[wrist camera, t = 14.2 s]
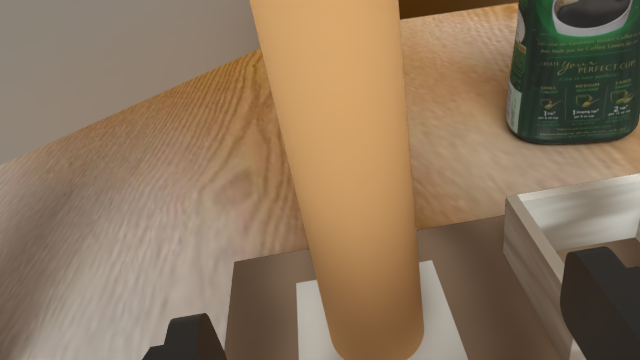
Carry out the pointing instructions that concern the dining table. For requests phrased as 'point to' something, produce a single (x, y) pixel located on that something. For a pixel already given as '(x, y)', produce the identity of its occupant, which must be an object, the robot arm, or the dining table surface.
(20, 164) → the dining table surface
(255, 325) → the board
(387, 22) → the tall tan cylinder
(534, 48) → the coffee jar
